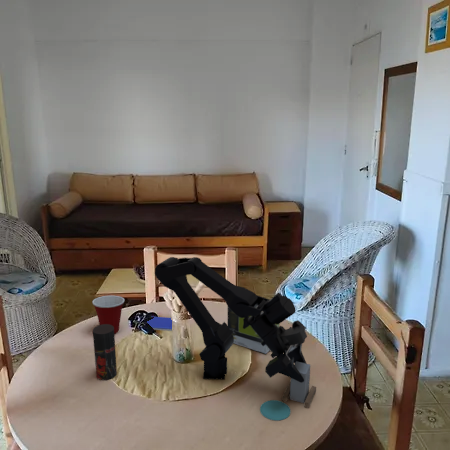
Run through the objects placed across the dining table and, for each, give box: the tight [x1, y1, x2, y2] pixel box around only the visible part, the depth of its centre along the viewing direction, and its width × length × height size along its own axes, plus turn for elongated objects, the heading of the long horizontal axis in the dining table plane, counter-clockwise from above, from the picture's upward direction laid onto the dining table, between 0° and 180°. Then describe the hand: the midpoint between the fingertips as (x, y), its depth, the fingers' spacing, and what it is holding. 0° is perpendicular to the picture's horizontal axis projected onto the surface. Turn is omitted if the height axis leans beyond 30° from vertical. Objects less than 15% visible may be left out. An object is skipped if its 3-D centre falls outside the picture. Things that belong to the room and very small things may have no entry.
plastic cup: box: [92, 295, 125, 335], centre depth 160 cm, size 11×11×12 cm
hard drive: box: [137, 316, 172, 332], centre depth 167 cm, size 2×8×12 cm
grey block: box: [289, 361, 311, 404], centre depth 126 cm, size 4×5×9 cm
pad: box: [259, 399, 292, 421], centre depth 121 cm, size 8×8×1 cm
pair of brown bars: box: [281, 380, 317, 409], centre depth 127 cm, size 7×8×2 cm
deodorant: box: [92, 324, 118, 381], centre depth 134 cm, size 6×6×15 cm
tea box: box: [227, 306, 281, 354], centre depth 153 cm, size 15×10×15 cm
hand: (305, 376), depth 125 cm, fingers closed on grey block, 5 cm apart
